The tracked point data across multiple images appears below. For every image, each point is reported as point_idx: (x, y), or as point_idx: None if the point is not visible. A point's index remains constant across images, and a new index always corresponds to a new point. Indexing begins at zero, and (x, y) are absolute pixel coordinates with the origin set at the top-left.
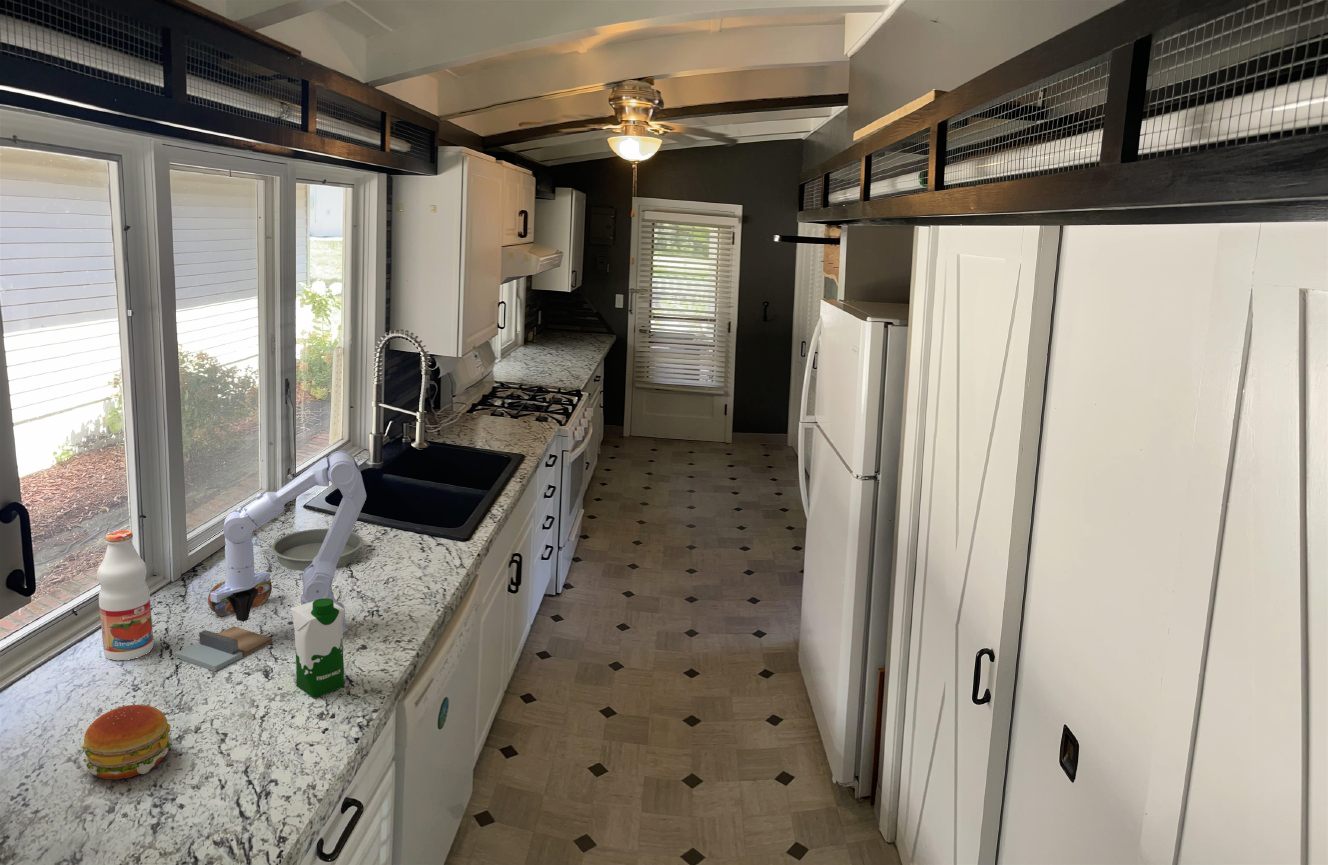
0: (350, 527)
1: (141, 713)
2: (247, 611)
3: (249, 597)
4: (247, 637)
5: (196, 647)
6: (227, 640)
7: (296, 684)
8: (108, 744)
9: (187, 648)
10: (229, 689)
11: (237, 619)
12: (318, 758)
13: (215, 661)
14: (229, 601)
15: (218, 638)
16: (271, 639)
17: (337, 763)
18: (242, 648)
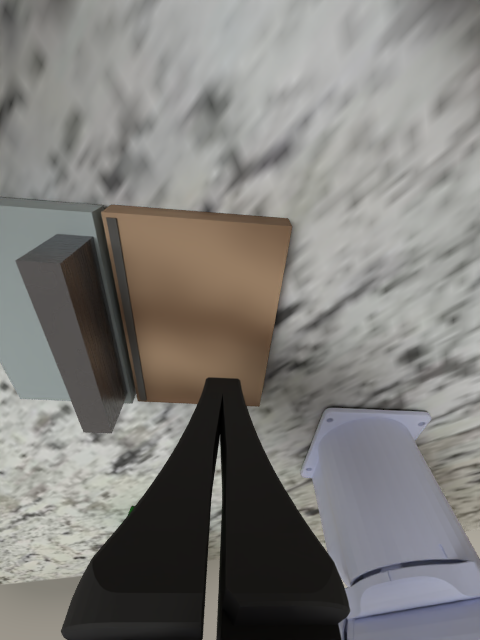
0: None
1: None
2: (221, 467)
3: (218, 601)
4: (225, 348)
5: (26, 247)
6: (82, 411)
7: (129, 511)
8: None
9: None
10: (22, 446)
11: (205, 382)
12: (37, 569)
13: (36, 380)
14: (143, 500)
15: (63, 379)
16: (255, 403)
17: (49, 577)
18: (156, 382)
